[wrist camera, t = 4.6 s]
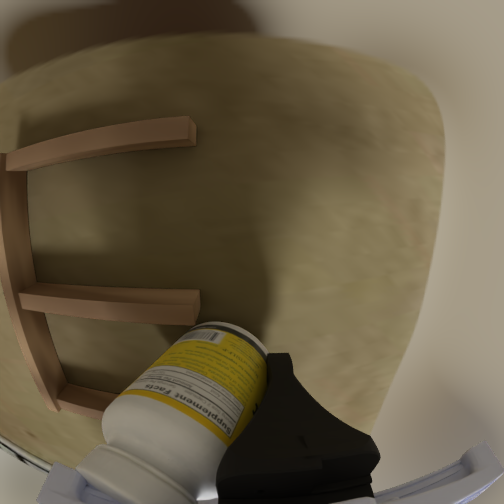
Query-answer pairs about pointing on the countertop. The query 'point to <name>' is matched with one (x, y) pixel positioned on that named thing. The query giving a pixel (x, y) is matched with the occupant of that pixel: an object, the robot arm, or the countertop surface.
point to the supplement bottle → (180, 418)
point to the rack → (78, 296)
